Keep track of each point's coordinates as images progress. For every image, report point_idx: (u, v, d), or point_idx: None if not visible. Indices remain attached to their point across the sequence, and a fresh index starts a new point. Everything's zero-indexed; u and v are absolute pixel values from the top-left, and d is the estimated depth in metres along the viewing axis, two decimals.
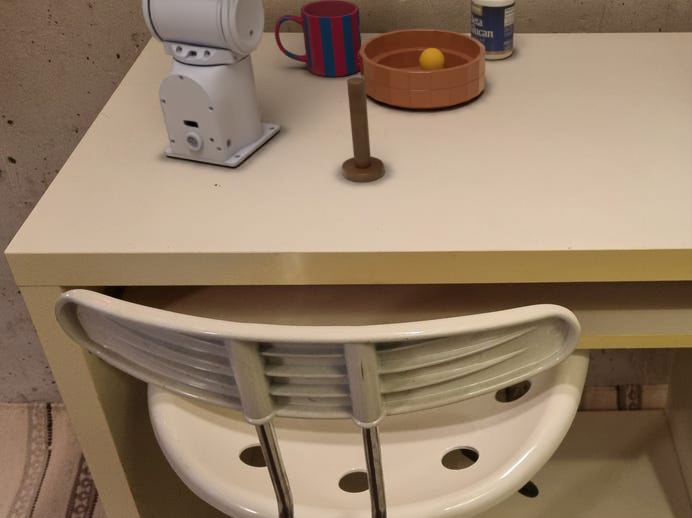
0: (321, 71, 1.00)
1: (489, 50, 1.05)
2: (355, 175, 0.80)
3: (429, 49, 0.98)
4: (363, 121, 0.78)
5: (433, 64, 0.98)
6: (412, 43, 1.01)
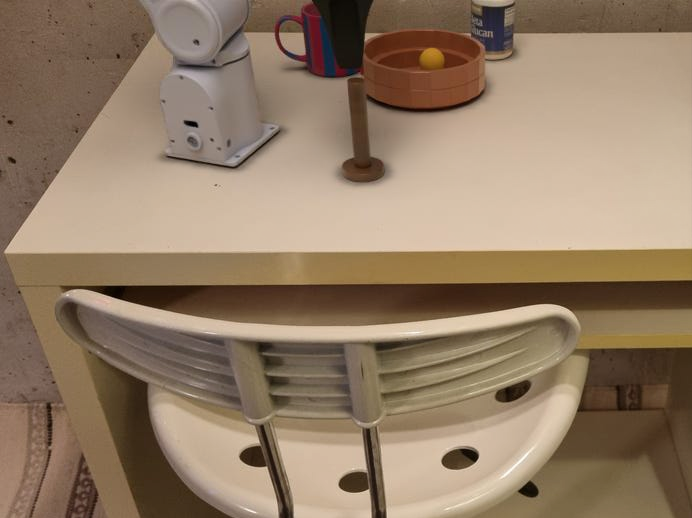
0: (321, 71, 1.00)
1: (489, 50, 1.05)
2: (355, 175, 0.80)
3: (429, 49, 0.98)
4: (363, 121, 0.78)
5: (433, 64, 0.98)
6: (412, 43, 1.01)
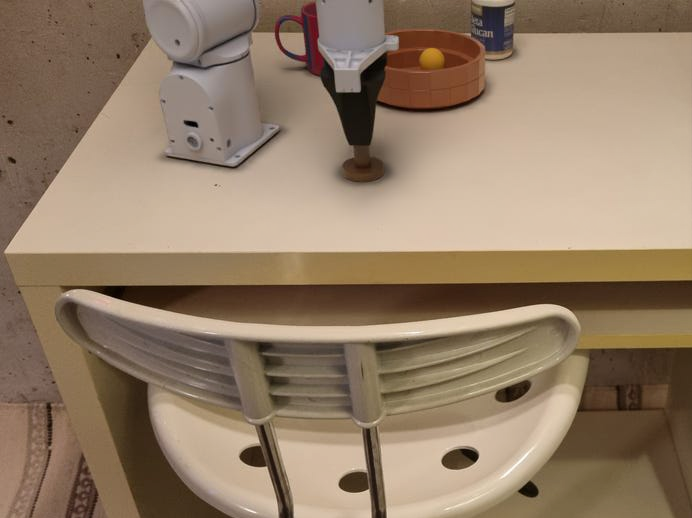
0: None
1: (489, 50, 1.05)
2: (355, 175, 0.80)
3: (429, 49, 0.98)
4: None
5: (433, 64, 0.98)
6: (412, 43, 1.01)
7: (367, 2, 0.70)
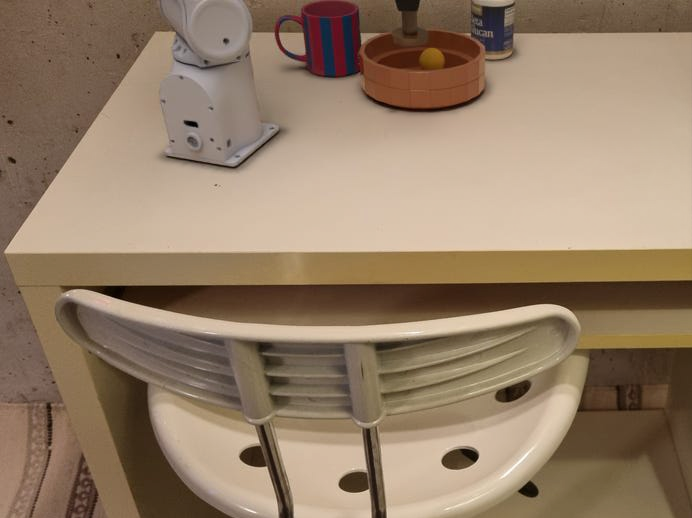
0: (321, 71, 1.00)
1: (489, 50, 1.05)
2: (404, 40, 0.89)
3: (429, 49, 0.98)
4: None
5: (433, 64, 0.98)
6: None
7: None
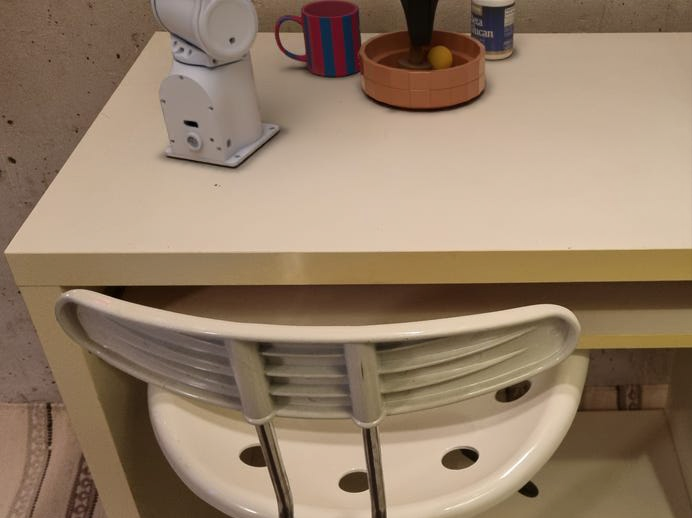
0: (321, 71, 1.00)
1: (489, 50, 1.05)
2: (411, 67, 0.96)
3: (444, 47, 0.99)
4: None
5: (443, 56, 0.98)
6: None
7: None
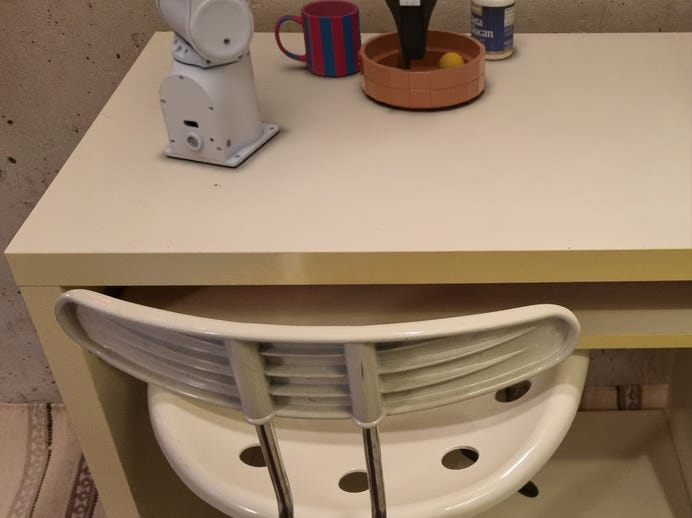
0: (321, 71, 1.00)
1: (489, 50, 1.05)
2: None
3: (460, 61, 0.97)
4: None
5: None
6: None
7: None
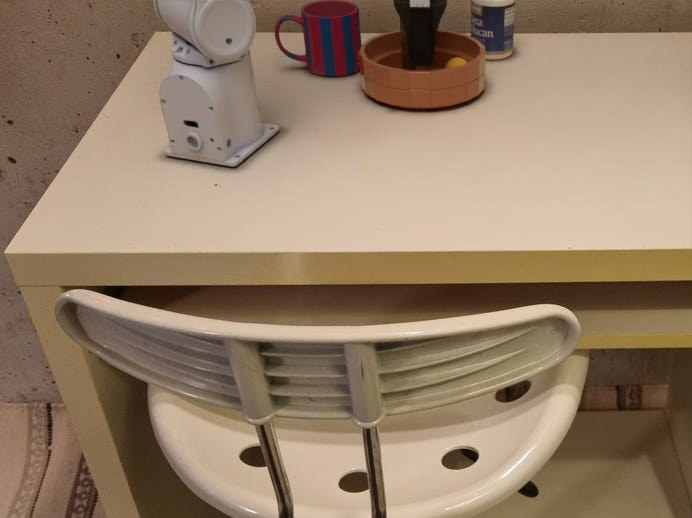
0: (321, 71, 1.00)
1: (489, 50, 1.05)
2: None
3: None
4: None
5: None
6: None
7: None
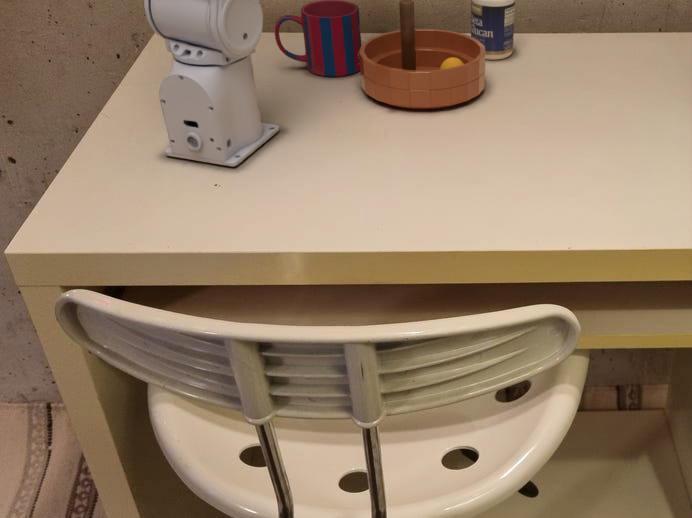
0: (321, 71, 1.00)
1: (489, 50, 1.05)
2: None
3: None
4: (414, 35, 0.94)
5: None
6: None
7: None
